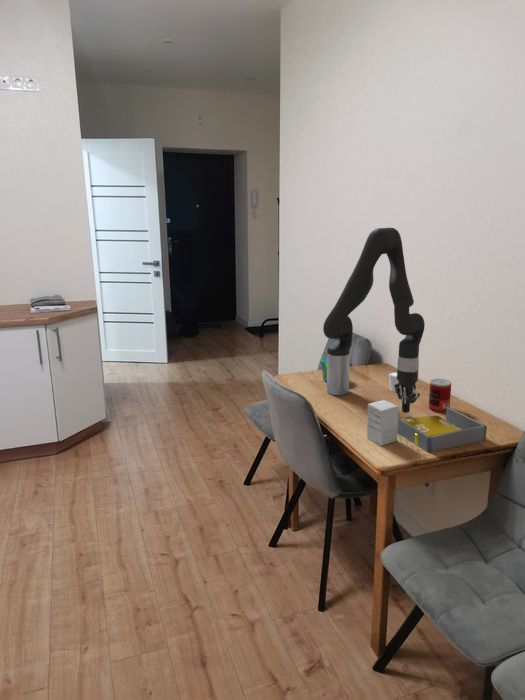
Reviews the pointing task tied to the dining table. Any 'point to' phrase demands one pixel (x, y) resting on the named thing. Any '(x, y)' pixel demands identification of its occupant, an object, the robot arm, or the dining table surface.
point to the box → (467, 435)
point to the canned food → (439, 395)
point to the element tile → (430, 426)
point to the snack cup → (324, 367)
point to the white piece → (393, 380)
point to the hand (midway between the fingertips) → (405, 412)
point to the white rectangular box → (382, 422)
